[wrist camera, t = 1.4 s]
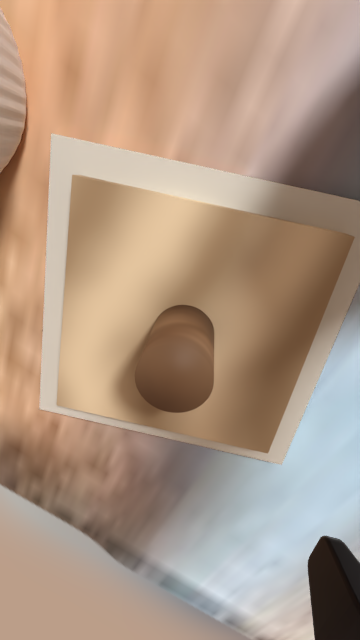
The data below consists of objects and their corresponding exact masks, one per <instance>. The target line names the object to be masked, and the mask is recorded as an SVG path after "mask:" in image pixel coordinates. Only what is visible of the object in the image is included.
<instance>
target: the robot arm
mask: <svg viewBox="0 0 360 640" xmlns="http://www.w3.org/2000/svg"><path fill="white" fill-rule="evenodd" d="M308 576H309V586H310V596H311V606H312V616H313V626H314V636H315V640H360V563H359V561H358V560H357V559H356V558H355V556H354V555H353V554H352V552H351V551H350V550H349V549H348V547H347V546H346V545H345V544H344V542H342V541H341V540H340V539H337V538H333V537H329V536H322V537H321V538H320V539H319V541H318V543H317V545H316V546H315V548H314V550H313V551H312V553H311V555H310V557H309V560H308Z"/></svg>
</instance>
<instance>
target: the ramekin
mask: <svg viewBox="0 0 360 640" xmlns="http://www.w3.org/2000/svg"><path fill="white" fill-rule="evenodd" d="M26 99H27V98H26V83H25V78H24V73H23V65H22V61H21V59H20V56H19V52H18V47H17V44H16V41H15V39H14V37H13V34H12V30H11V27H10V25H9V24H8V22H7V20H6V19H5V16H4V13H3V11H2V9H1V7H0V173H1V172H2V170H3V169H4V167H5V166H7V164H8V163H9V161H10V159H11V158H12V156H13V155H14V153H15V152H16V149H17V147H18V145H19V144H20V141H21V136H22V133H23V131H24V127H25V118H26Z"/></svg>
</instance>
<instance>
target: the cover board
mask: <svg viewBox="0 0 360 640" xmlns="http://www.w3.org/2000/svg"><path fill="white" fill-rule="evenodd" d="M354 238H355V237H354V236H351V235H349V234H346V233H342V232H337V231H333V230H328V229H323V228H319V227H314V226H310V225H305V224H301V223H296V222H292V221H287V220H283V219H278V218H273V217H269V216H264V215H260V214H255V213H251V212H246V211H242V210H237V209H233V208H228V207H223V206H219V205H214V204H210V203H205V202H201V201H196V200H192V199H187V198H183V197H178V196H173V195H169V194H164V193H160V192H155V191H151V190H146V189H142V188H137V187H133V186H128V185H123V184H119V183H114V182H110V181H105V180H101V179H96V178H92V177H87V176H83V175H72V183H71V198H70V212H69V227H68V242H67V257H66V272H65V287H64V301H63V316H62V331H61V346H60V361H59V375H58V390H57V405H58V406H62V407H67V408H71V409H75V410H80V411H84V412H88V413H93V414H97V415H101V416H106V417H110V418H115V419H119V420H123V421H128V422H132V423H136V424H141V425H145V426H149V427H154V428H158V429H163V430H167V431H171V432H176V433H180V434H184V435H189V436H193V437H198V438H202V439H206V440H211V441H215V442H219V443H224V444H228V445H232V446H237V447H241V448H246V449H250V450H254V451H259V452H263V453H267V454H268V452H269V450H270V447H271V445H272V442H273V440H274V437H275V435H276V432H277V430H278V427H279V425H280V422H281V420H282V417H283V415H284V412H285V410H286V407H287V405H288V402H289V400H290V397H291V395H292V393H293V390H294V388H295V385H296V383H297V380H298V378H299V375H300V373H301V370H302V368H303V365H304V363H305V360H306V358H307V355H308V353H309V350H310V348H311V345H312V343H313V340H314V338H315V335H316V333H317V330H318V328H319V325H320V323H321V320H322V318H323V315H324V313H325V310H326V308H327V305H328V303H329V300H330V298H331V295H332V293H333V290H334V288H335V285H336V283H337V280H338V278H339V275H340V273H341V270H342V268H343V265H344V263H345V260H346V258H347V255H348V253H349V250H350V248H351V246H352V243H353V241H354Z"/></svg>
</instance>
